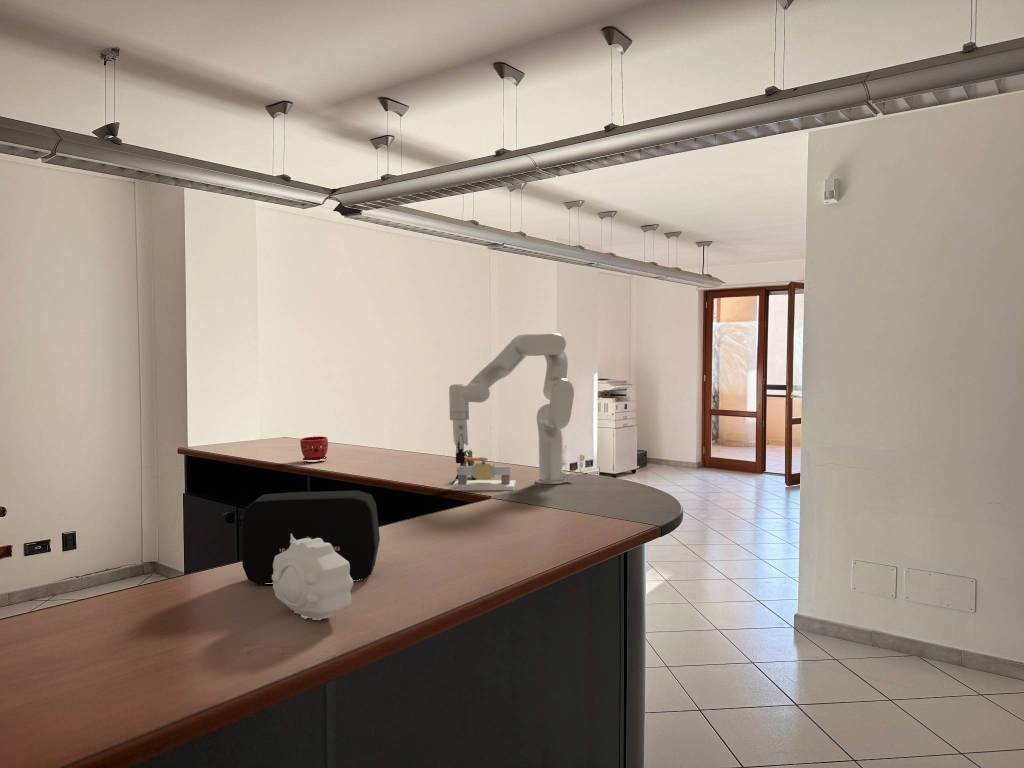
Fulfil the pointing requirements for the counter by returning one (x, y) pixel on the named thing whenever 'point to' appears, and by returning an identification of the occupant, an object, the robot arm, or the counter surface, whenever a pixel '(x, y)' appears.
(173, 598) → the counter surface
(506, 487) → the board
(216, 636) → the counter surface
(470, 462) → the dark grey tall piece
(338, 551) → the black hard case
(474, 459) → the valve lever
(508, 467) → the valve pipe
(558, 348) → the robot arm
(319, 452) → the plant pot
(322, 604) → the white lumpy lump
